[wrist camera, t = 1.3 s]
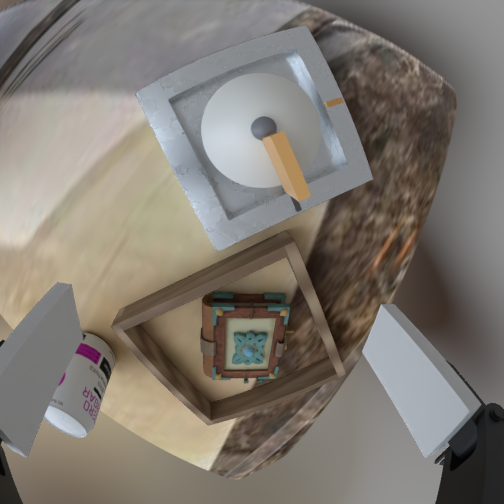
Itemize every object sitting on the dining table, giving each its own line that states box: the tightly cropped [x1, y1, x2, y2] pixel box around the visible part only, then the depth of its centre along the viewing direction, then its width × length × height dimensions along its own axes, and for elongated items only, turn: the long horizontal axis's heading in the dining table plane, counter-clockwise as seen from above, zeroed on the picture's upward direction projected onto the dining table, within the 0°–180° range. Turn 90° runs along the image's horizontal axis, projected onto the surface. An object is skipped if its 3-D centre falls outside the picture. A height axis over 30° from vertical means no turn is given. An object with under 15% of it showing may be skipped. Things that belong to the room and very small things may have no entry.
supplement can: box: [43, 332, 115, 438], centre depth 29 cm, size 8×8×15 cm
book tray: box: [111, 230, 345, 425], centre depth 36 cm, size 24×24×4 cm
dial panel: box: [135, 25, 373, 251], centre depth 26 cm, size 20×20×3 cm
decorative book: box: [200, 292, 294, 383], centre depth 36 cm, size 13×18×5 cm
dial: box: [201, 73, 321, 202], centre depth 23 cm, size 13×12×7 cm
